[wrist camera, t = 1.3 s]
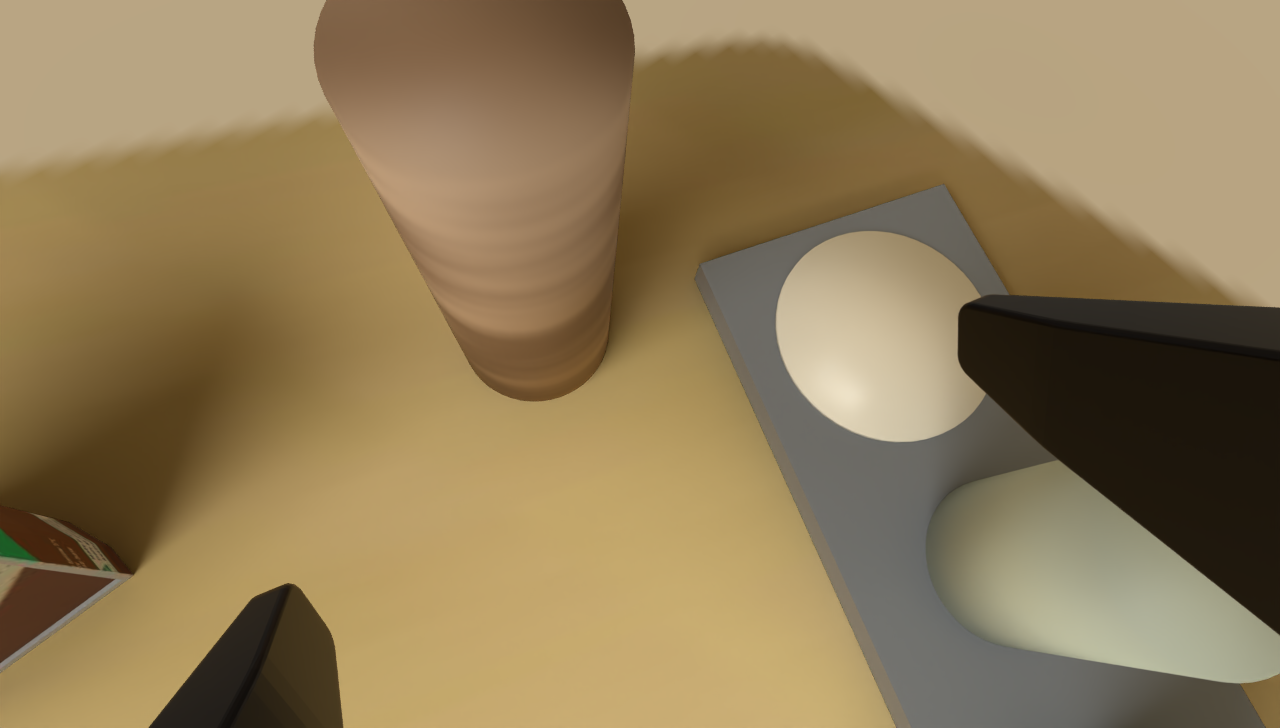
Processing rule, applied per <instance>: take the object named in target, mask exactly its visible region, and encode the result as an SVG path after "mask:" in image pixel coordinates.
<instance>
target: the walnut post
mask: <svg viewBox="0 0 1280 728" xmlns="http://www.w3.org/2000/svg"><path fill="white" fill-rule="evenodd" d="M634 56H635V45H634V34H633V29H632V24H631V20H630V17H629V15H628V12H627V10H626V7H625V5H624V3H623V1H622V0H326V2H325V5H324V7H323V9H322V11H321V13H320V17H319V20H318V23H317V27H316V32H315V40H314V61H315V66H316V71H317V76H318V80H319V82H320V85H321V87H322V90H323V92H324V95H325V97H326V99H327V101H328V103H329V104H330V106H331V108H332V110H333V112H334V114H335V115H336V117H337V119H338V121H339V123H340V125H341V127H342V128H343V130H344V132H345V134H346V136H347V138H348V140H349V141H350V143H351V145H352V147H353V149H354V151H355V152H356V154H357V156H358V158H359V160H360V162H361V164H362V165H363V167H364V169H365V171H366V173H367V175H368V177H369V178H370V180H371V182H372V184H373V186H374V188H375V190H376V191H377V193H378V195H379V197H380V199H381V201H382V202H383V204H384V206H385V208H386V210H387V212H388V214H389V215H390V217H391V219H392V221H393V223H394V225H395V227H396V228H397V230H398V232H399V234H400V236H401V238H402V240H403V241H404V243H405V245H406V247H407V249H408V251H409V252H410V254H411V256H412V258H413V260H414V262H415V264H416V265H417V267H418V269H419V271H420V273H421V275H422V277H423V278H424V280H425V282H426V284H427V286H428V288H429V289H430V291H431V293H432V295H433V297H434V299H435V301H436V302H437V304H438V306H439V308H440V310H441V312H442V314H443V315H444V317H445V319H446V321H447V323H448V325H449V327H450V328H451V330H452V332H453V334H454V336H455V338H456V339H457V341H458V343H459V345H460V347H461V349H462V351H463V352H464V354H465V356H466V358H467V360H468V362H469V364H470V365H471V367H472V369H473V370H474V372H475V373H476V374H477V375H478V377H479V378H480V379H481V380H482V381H483V382H484V383H485V384H486V385H488V386H489V387H490V388H492V389H493V390H495V391H497V392H499V393H500V394H502V395H505V396H508V397H510V398H513V399H518V400H523V401H545V400H551V399H555V398H558V397H561V396H564V395H566V394H568V393H570V392H572V391H574V390H576V389H577V388H579V387H580V386H581V385H583V384H584V383H585V382H586V381H587V380H588V379H589V378H590V377H591V376H592V375H593V374H594V372H595V371H596V370H597V368H598V367H599V365H600V363H601V361H602V359H603V357H604V354H605V352H606V348H607V344H608V334H609V324H610V313H611V302H612V291H613V281H614V270H615V259H616V249H617V238H618V227H619V216H620V206H621V195H622V184H623V174H624V163H625V152H626V141H627V131H628V120H629V109H630V99H631V88H632V77H633V66H634Z"/></svg>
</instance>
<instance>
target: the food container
mask: <svg viewBox="0 0 1280 728" xmlns="http://www.w3.org/2000/svg"><path fill="white" fill-rule="evenodd" d="M132 576H133V573H132V572H131V571H130V570H129V569H128V567H127V566H126V565H125V564H124V562H123V561H122V560H121V559H120V558H119V556H118V555H117V554H116V553H115V552H114V550H113V549H112V548H111V547H110V546H108V545H106V544H105V543H103V542H101V541H100V540H98V539H96V538H95V537H93V536H91V535H90V534H88V533H86V532H84V531H83V530H81V529H79V528H78V527H76V526H74V525H73V524H71V523H69V522H66V521H62V520H58V519H53V518H49V517H45V516H41V515H37V514H33V513H29V512H25V511H21V510H17V509H13V508H8V507H4V506H0V673H1V672H2V671H4V670H5V669H6V668H8V667H9V666H10V665H12V664H13V663H15V662H16V661H17V660H19V659H20V658H21V657H23V656H24V655H25V654H27V653H28V652H30V651H31V650H32V649H34V648H35V647H36V646H38V645H39V644H40V643H42V642H43V641H45V640H46V639H47V638H49V637H50V636H51V635H53V634H54V633H55V632H57V631H58V630H60V629H61V628H62V627H64V626H65V625H66V624H68V623H69V622H70V621H72V620H73V619H75V618H76V617H77V616H79V615H80V614H81V613H83V612H84V611H85V610H87V609H88V608H90V607H91V606H92V605H94V604H95V603H96V602H98V601H99V600H100V599H102V598H103V597H105V596H106V595H107V594H109V593H110V592H111V591H113V590H114V589H115V588H117V587H118V586H120V585H121V584H122V583H124V582H125V581H126V580H128V579H129V578H130V577H132Z"/></svg>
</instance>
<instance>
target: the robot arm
mask: <svg viewBox="0 0 1280 728" xmlns="http://www.w3.org/2000/svg"><path fill="white" fill-rule="evenodd" d="M957 355H958V361H959V364H960V366H961V368H962V370H963V371H964V372H965V374H966V375H967V376H968V377H969V378H970V379H971V380H973V381H974V382H975V383H976V384H977V385H978V386H979V387H980V388H981V389H982V390H983V391H984V392H985V393H986V394H987V395H988V396H989V397H990V398H991V399H992V400H993V401H994V402H995V403H997V404H998V405H999V406H1000V407H1001V408H1002V409H1003V410H1004V411H1005V412H1006V413H1007V414H1008V415H1009V416H1010V417H1011V418H1012V419H1013V420H1014V421H1015V422H1016V423H1017V424H1018V425H1019V426H1020V427H1022V428H1023V429H1024V430H1025V431H1026V432H1027V433H1028V434H1029V435H1030V436H1031V437H1032V438H1033V439H1034V440H1035V441H1036V442H1038V443H1039V444H1040V445H1041V446H1042V447H1043V448H1044V449H1046V450H1047V451H1048V452H1049V453H1050V454H1052V455H1053V456H1054V457H1055V458H1056V459H1058V460H1059V461H1060V462H1061V463H1063V464H1064V465H1065V466H1066V467H1068V468H1069V469H1070V470H1071V471H1073V472H1074V473H1075V474H1077V475H1078V476H1079V477H1080V478H1082V479H1083V480H1084V481H1085V482H1087V483H1088V484H1089V485H1090V486H1092V487H1093V488H1094V489H1095V490H1097V491H1098V492H1099V493H1100V494H1102V495H1103V496H1104V497H1106V498H1107V499H1108V500H1109V501H1111V502H1112V503H1113V504H1114V505H1116V506H1117V507H1118V508H1119V509H1121V510H1122V511H1123V512H1124V513H1126V514H1127V515H1128V516H1130V517H1131V518H1132V519H1133V520H1135V521H1136V522H1137V523H1138V524H1140V525H1141V526H1142V527H1143V528H1145V529H1146V530H1147V531H1148V532H1150V533H1151V534H1152V535H1154V536H1155V537H1156V538H1157V539H1159V540H1160V541H1161V542H1162V543H1164V544H1165V545H1166V546H1167V547H1169V548H1170V549H1171V550H1172V551H1174V552H1175V553H1176V554H1178V555H1179V556H1180V557H1181V558H1183V559H1184V560H1185V561H1186V562H1188V563H1189V564H1190V565H1191V566H1193V567H1194V568H1195V569H1196V570H1198V571H1199V572H1200V573H1202V574H1203V575H1204V576H1205V577H1207V578H1208V579H1209V580H1210V581H1212V582H1213V583H1214V584H1215V585H1217V586H1218V587H1219V588H1220V589H1222V590H1223V591H1224V592H1226V593H1227V594H1228V595H1229V596H1231V597H1232V598H1233V599H1234V600H1236V601H1237V602H1238V603H1239V604H1241V605H1242V606H1243V607H1244V608H1246V609H1247V610H1248V611H1250V612H1251V613H1252V614H1253V615H1255V616H1256V617H1257V618H1258V619H1260V620H1261V621H1262V622H1263V623H1265V624H1266V625H1267V626H1268V627H1270V628H1271V629H1272V630H1273V631H1275V632H1276V633H1277V634H1279V635H1280V308H1275V307H1254V306H1233V305H1211V304H1190V303H1168V302H1147V301H1126V300H1104V299H1083V298H1062V297H1040V296H1019V295H997V294H990V295H985V296H983V297H980V298H978V299H975V300H973V301H971V302H968V303H966V304H964V305H963V306H962V307H961V309H960V311H959V313H958V349H957ZM149 728H343V719H342V710H341V700H340V690H339V681H338V671H337V661H336V652H335V645H334V641H333V638H332V635H331V633H330V631H329V629H328V627H327V626H326V624H325V623H324V621H323V620H322V619H321V617H320V616H319V614H318V613H317V612H316V610H315V609H314V607H313V606H312V604H311V603H310V602H309V600H308V599H307V597H306V596H305V595H304V593H303V592H302V590H301V589H300V588H299V587H297V586H296V585H295V584H290V583H287V584H284V585H281V586H279V587H276V588H274V589H272V590H269V591H267V592H264V593H262V594H259V595H257V596H255V597H254V598H252V599H251V600H250V602H249V603H248V604H247V605H246V606H245V608H244V609H243V610H242V611H241V613H240V614H239V615H238V616H237V618H236V619H235V620H234V621H233V623H232V624H231V625H230V626H229V628H228V629H227V630H226V631H225V633H224V634H223V635H222V636H221V638H220V639H219V640H218V641H217V643H216V644H215V645H214V646H213V648H212V649H211V650H210V651H209V653H208V654H207V655H206V656H205V658H204V659H203V660H202V661H201V663H200V664H199V665H198V666H197V668H196V669H195V670H194V671H193V673H192V674H191V675H190V676H189V678H188V679H187V680H186V681H185V683H184V684H183V685H182V686H181V688H180V689H179V690H178V691H177V693H176V694H175V695H174V696H173V698H172V699H171V700H170V701H169V703H168V704H167V705H166V706H165V708H164V709H163V710H162V711H161V713H160V714H159V715H158V716H157V718H156V719H155V720H154V721H153V723H152V724H151V725H150V726H149Z"/></svg>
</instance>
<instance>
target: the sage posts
mask: <svg viewBox="0 0 1280 728" xmlns="http://www.w3.org/2000/svg"><path fill="white" fill-rule="evenodd" d="M925 548H926V561H927V567H928V572H929V575H930V578H931V581H932V584H933V586H934V589H935V591H936V593H937V595H938V596H939V598H940V600H941V602H942V603H943V605H944V606H945V607H946V609H947V610H948V612H949V613H950V614H951V615H952V616H953V617H954V618H955V619H956V621H958V622H959V623H960V624H961V625H962V626H963V627H964V628H965V629H967V630H968V631H970V632H971V633H973V634H974V635H976V636H978V637H979V638H981V639H983V640H985V641H988V642H990V643H993V644H996V645H1000V646H1004V647H1010V648H1016V649H1022V650H1028V651H1034V652H1040V653H1047V654H1053V655H1059V656H1065V657H1071V658H1077V659H1083V660H1090V661H1096V662H1102V663H1108V664H1114V665H1120V666H1126V667H1133V668H1139V669H1145V670H1151V671H1157V672H1163V673H1170V674H1176V675H1182V676H1188V677H1194V678H1200V679H1206V680H1213V681H1219V682H1227V683H1251V682H1257V681H1261V680H1265V679H1269V678H1271V677H1273V676H1275V675H1278V674H1280V635H1279V634H1277V633H1276V632H1275V631H1273V630H1272V629H1271V628H1270V627H1268V626H1267V625H1266V624H1265V623H1263V622H1262V621H1261V620H1260V619H1258V618H1257V617H1256V616H1255V615H1253V614H1252V613H1251V612H1250V611H1248V610H1247V609H1246V608H1244V607H1243V606H1242V605H1241V604H1239V603H1238V602H1237V601H1236V600H1234V599H1233V598H1232V597H1231V596H1229V595H1228V594H1227V593H1226V592H1224V591H1223V590H1222V589H1220V588H1219V587H1218V586H1217V585H1215V584H1214V583H1213V582H1212V581H1210V580H1209V579H1208V578H1207V577H1205V576H1204V575H1203V574H1202V573H1200V572H1199V571H1198V570H1196V569H1195V568H1194V567H1193V566H1191V565H1190V564H1189V563H1188V562H1186V561H1185V560H1184V559H1183V558H1181V557H1180V556H1179V555H1178V554H1176V553H1175V552H1174V551H1172V550H1171V549H1170V548H1169V547H1167V546H1166V545H1165V544H1164V543H1162V542H1161V541H1160V540H1159V539H1157V538H1156V537H1155V536H1154V535H1152V534H1151V533H1150V532H1148V531H1147V530H1146V529H1145V528H1143V527H1142V526H1141V525H1140V524H1138V523H1137V522H1136V521H1135V520H1133V519H1132V518H1131V517H1130V516H1128V515H1127V514H1126V513H1124V512H1123V511H1122V510H1121V509H1119V508H1118V507H1117V506H1116V505H1114V504H1113V503H1112V502H1111V501H1109V500H1108V499H1107V498H1106V497H1104V496H1103V495H1102V494H1100V493H1099V492H1098V491H1097V490H1095V489H1094V488H1093V487H1092V486H1090V485H1089V484H1088V483H1087V482H1085V481H1084V480H1083V479H1082V478H1080V477H1079V476H1078V475H1077V474H1075V473H1074V472H1073V471H1071V470H1070V469H1069V468H1068V467H1066V466H1065V465H1064V464H1063V463H1061V462H1060V461H1059V460H1056V461H1052V462H1048V463H1044V464H1040V465H1036V466H1032V467H1028V468H1024V469H1020V470H1016V471H1012V472H1008V473H1004V474H1000V475H996V476H992V477H988V478H984V479H980V480H976V481H972V482H969V483H967V484H964V485H962V486H960V487H958V488H956V489H955V490H953V491H952V492H951V493H949V494H948V495H947V496H946V497H945V498H944V499H943V500H942V501H941V503H940V504H939V505H938V507H937V508H936V510H935V512H934V514H933V516H932V518H931V521H930V523H929V526H928V531H927V536H926V547H925Z"/></svg>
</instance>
